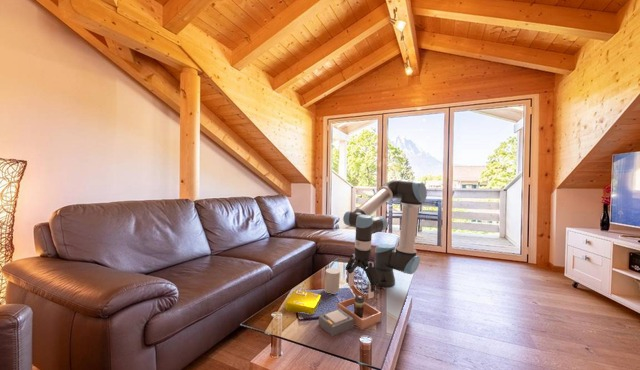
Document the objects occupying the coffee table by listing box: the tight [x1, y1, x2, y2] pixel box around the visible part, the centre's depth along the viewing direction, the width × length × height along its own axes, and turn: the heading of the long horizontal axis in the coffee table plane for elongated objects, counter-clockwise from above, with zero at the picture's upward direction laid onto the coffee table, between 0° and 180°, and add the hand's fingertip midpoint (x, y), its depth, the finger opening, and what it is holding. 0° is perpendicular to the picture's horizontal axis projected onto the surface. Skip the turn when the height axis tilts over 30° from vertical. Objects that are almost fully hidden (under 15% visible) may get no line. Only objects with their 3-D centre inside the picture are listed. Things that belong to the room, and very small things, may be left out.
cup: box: [324, 267, 341, 293], centre depth 158 cm, size 8×8×12 cm
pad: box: [324, 309, 348, 325], centre depth 126 cm, size 7×7×3 cm
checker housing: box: [318, 309, 354, 337], centre depth 126 cm, size 12×10×5 cm
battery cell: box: [354, 295, 365, 318], centre depth 134 cm, size 4×4×10 cm
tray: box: [336, 296, 382, 331], centre depth 134 cm, size 12×17×4 cm
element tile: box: [285, 289, 322, 314], centre depth 142 cm, size 15×15×5 cm
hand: (360, 291), depth 133 cm, fingers open, 13 cm apart
